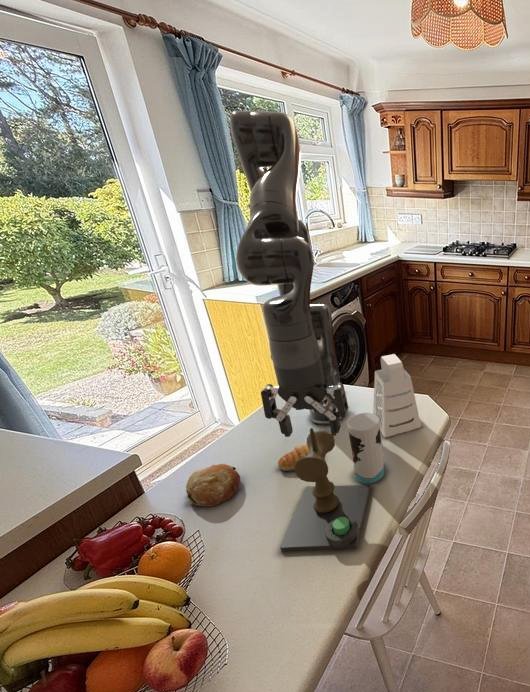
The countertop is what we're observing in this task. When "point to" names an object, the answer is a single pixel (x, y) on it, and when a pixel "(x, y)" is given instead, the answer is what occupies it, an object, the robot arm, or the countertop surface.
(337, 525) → the tare button
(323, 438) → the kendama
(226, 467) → the bread roll
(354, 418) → the cup
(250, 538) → the countertop surface
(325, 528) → the scale
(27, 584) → the countertop surface
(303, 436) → the countertop surface
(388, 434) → the grater
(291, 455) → the pastry
